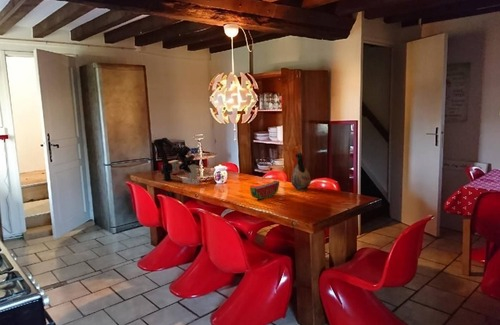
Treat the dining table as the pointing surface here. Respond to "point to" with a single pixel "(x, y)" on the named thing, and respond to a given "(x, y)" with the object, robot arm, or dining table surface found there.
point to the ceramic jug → (300, 175)
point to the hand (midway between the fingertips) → (193, 172)
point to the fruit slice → (265, 190)
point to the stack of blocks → (175, 166)
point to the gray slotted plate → (192, 172)
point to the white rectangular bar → (186, 180)
